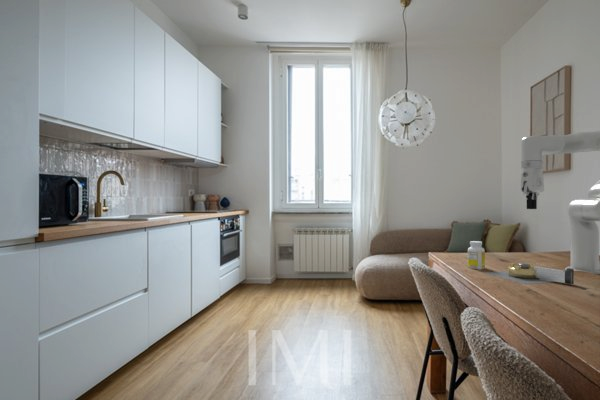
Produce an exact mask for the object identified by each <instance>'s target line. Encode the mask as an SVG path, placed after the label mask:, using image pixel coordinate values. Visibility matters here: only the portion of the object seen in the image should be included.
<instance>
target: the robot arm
mask: <svg viewBox="0 0 600 400" xmlns="http://www.w3.org/2000/svg"><path fill="white" fill-rule="evenodd" d="M597 151H598V152H599V151H600V130H595V131H581V132H574V133H569V134H566V135H559V134H558V135H557V134H553V135H541V136H540V135H529V136H524V137H522V138H521V140H520V156H521V157H520V162H521V163H520V169H521V175H520V191H521V192H522V193H523V195H524V196H525V200H526V209H527V210H537V208H538V207H537V205H538V204H537V203H538V196H540V193H543V192H544V191H545V184H544V183H545V182H544V173H543V156H550V155H560V154H561V155H563V154H575V153H576V154H577V153H588V152H597ZM567 214H568V217H569V218H568V220H569V223H570V225H569V227H570V265H568V266H566V267H565V268H571V269H574V271H578V272H582V273H588V274H593V275H600V230H599V226H598V225H597V223H596V222H600V179H599V180H598V181H597V182H595V183H594V185H592V186H591V187H590V188H589V189H588V192H587V197H579V198H576V199H572V200H571V201H570V202H569V204H568V206H567Z"/></svg>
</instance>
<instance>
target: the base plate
mask: <svg viewBox="0 0 600 400" xmlns="http://www.w3.org/2000/svg"><path fill="white" fill-rule="evenodd" d="M482 273H483V274H485V275H490V276H492V277H493V276H494V277H498V278H501V279H505V280H508V281H511V282H515V283H518V284H519V283H520V284H523V285H532V284H544V283H545V284H547V283H558V282H557V281H551V280H546V279H540V278H537V279H525V278H517V277H512V276H510V275H508V270H500V271H486V272H485V271H484V272H482Z"/></svg>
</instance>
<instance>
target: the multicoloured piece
mask: <svg viewBox="0 0 600 400" xmlns="http://www.w3.org/2000/svg"><path fill="white" fill-rule="evenodd" d="M507 271H508V275H510V276H512V277H517V278H525V279H537V278H540V279H546V280H551V281H557V282H556V283H562V284H568V285H574V284H575V270H574V269H571V268H566V267H565V268H564V267H563V270H562V269H556V268H551V267H544V266H537V265H534V266H533V263H529V262H528V263H525V262H518V263H517V265H516V263H515V262H509V263H508V270H507Z"/></svg>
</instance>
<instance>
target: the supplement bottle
mask: <svg viewBox="0 0 600 400" xmlns="http://www.w3.org/2000/svg"><path fill="white" fill-rule="evenodd" d="M469 245H470V247H468V248H467V269H472V270H485V269H486V259H485V258H486V256H485V255H486V250H485V248H484V247H482V246H483V241H479V240H477V241H476V240H470V241H469Z"/></svg>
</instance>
